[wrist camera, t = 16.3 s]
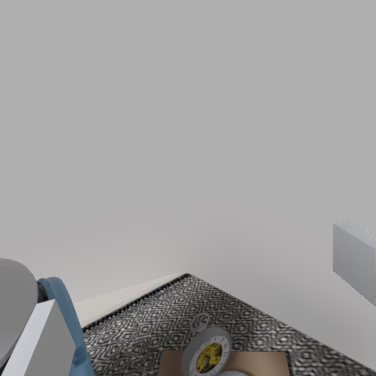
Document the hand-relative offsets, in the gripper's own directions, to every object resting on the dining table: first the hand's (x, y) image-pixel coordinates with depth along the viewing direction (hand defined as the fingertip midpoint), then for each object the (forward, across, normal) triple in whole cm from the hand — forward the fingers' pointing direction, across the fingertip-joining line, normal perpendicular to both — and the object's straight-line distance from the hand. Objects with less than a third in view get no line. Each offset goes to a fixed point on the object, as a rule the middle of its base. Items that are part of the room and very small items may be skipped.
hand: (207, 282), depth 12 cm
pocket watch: (+10, +1, -24) cm, 26 cm away
